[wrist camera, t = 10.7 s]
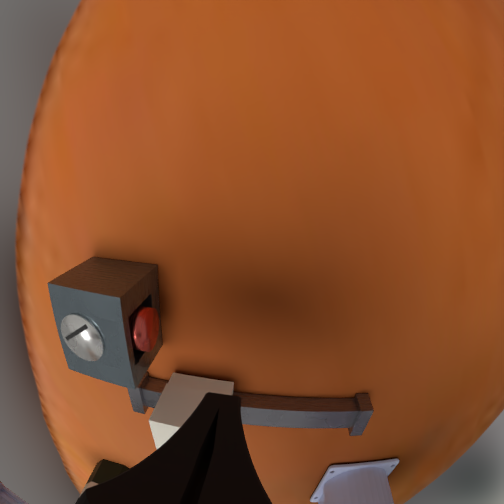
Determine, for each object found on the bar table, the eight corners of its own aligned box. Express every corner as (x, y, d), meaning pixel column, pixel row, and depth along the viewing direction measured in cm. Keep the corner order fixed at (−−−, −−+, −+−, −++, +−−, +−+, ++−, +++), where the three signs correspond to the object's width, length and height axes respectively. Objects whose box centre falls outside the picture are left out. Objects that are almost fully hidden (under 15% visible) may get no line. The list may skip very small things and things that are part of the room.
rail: (357, 417, 20) (361, 435, 18) (142, 395, 21) (133, 411, 19) (367, 393, 19) (373, 410, 17) (136, 369, 20) (126, 385, 18)
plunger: (160, 337, 17) (145, 360, 15) (104, 325, 17) (85, 345, 15) (157, 300, 16) (139, 321, 14) (99, 290, 17) (77, 308, 14)
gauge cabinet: (162, 344, 19) (133, 393, 14) (103, 331, 19) (66, 371, 14) (157, 264, 17) (116, 300, 12) (93, 256, 18) (44, 285, 13)
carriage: (231, 422, 21) (222, 473, 16) (178, 413, 21) (160, 460, 16) (234, 380, 19) (222, 434, 14) (172, 370, 19) (148, 419, 14)
